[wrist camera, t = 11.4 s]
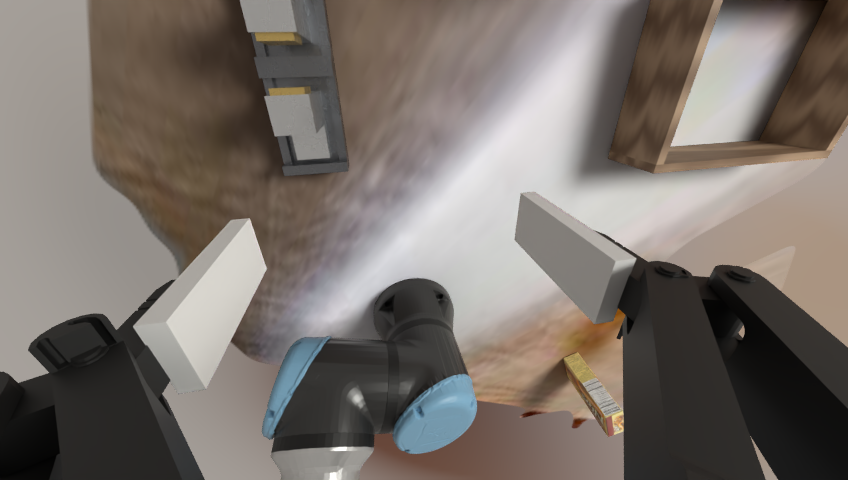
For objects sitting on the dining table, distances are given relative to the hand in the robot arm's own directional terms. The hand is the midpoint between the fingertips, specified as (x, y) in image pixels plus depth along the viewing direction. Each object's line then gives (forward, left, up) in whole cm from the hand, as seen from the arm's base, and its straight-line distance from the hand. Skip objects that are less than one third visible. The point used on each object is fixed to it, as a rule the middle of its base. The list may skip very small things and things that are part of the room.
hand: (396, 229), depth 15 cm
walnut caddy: (+5, -54, -31) cm, 62 cm away
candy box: (-59, -44, -31) cm, 80 cm away
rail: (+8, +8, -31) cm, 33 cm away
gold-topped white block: (+2, +8, -29) cm, 30 cm away
